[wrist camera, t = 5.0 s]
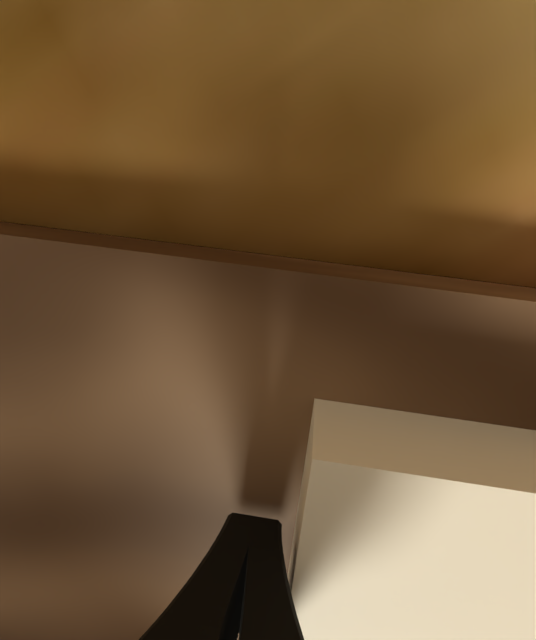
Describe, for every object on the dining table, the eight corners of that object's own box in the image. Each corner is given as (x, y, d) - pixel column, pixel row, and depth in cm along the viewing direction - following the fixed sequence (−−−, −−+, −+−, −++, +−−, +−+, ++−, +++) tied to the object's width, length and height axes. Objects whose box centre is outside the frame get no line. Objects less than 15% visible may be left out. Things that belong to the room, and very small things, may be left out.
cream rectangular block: (480, 666, 14) (512, 770, 11) (279, 629, 14) (270, 722, 12) (565, 434, 11) (630, 508, 9) (314, 398, 11) (312, 458, 9)
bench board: (603, 769, 17) (700, 978, 12) (-28, 646, 18) (-133, 791, 14) (848, 327, 11) (1177, 429, 7) (-94, 210, 13) (-303, 233, 8)
